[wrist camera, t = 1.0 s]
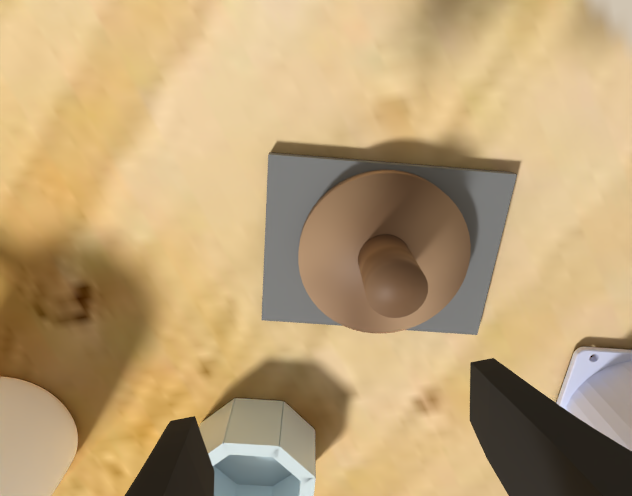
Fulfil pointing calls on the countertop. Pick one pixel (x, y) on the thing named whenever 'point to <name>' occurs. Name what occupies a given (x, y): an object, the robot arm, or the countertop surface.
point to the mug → (33, 439)
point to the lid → (383, 251)
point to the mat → (325, 172)
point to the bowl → (260, 449)
